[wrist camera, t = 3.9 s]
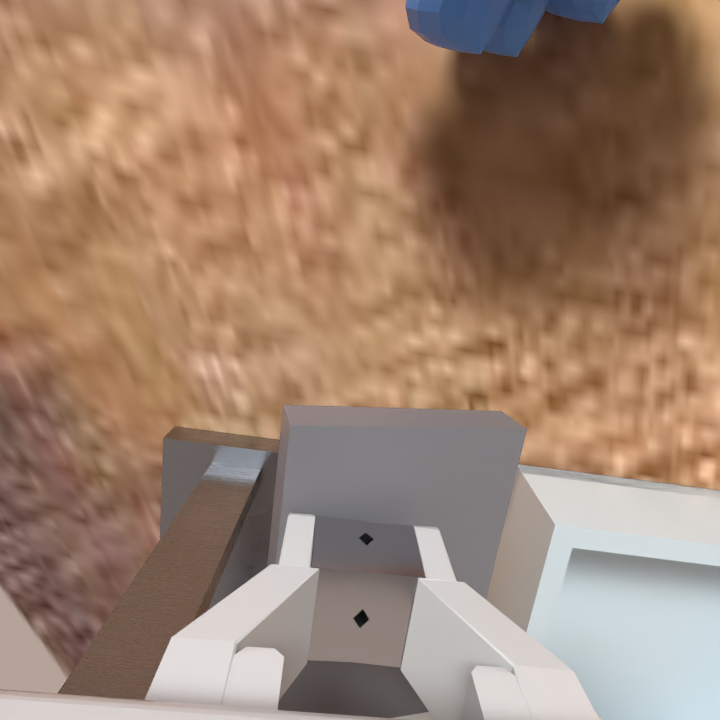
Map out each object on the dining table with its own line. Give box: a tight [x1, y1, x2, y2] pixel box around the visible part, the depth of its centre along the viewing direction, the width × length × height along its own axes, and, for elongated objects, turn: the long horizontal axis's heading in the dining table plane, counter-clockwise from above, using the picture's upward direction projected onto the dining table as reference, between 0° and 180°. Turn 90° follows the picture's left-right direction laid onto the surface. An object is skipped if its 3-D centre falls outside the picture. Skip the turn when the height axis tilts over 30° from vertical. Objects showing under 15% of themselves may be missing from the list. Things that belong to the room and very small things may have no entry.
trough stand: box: [57, 427, 280, 700], centre depth 16 cm, size 6×13×13 cm, turn 172°
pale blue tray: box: [486, 464, 720, 720], centre depth 21 cm, size 14×14×4 cm
